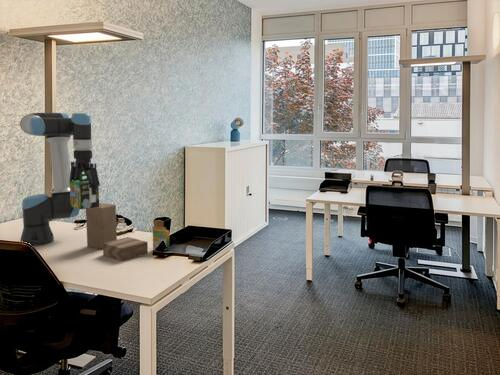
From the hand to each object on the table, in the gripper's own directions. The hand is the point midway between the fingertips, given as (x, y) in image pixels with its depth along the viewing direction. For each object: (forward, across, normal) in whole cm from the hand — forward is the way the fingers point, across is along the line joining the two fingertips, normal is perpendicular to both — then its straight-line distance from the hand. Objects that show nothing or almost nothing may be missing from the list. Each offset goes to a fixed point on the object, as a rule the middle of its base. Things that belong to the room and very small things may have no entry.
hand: (85, 201), depth 199 cm
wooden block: (+26, -11, +17) cm, 33 cm away
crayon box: (+26, +19, +27) cm, 42 cm away
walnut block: (+26, +10, +13) cm, 31 cm away
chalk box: (+3, 0, 0) cm, 3 cm away
